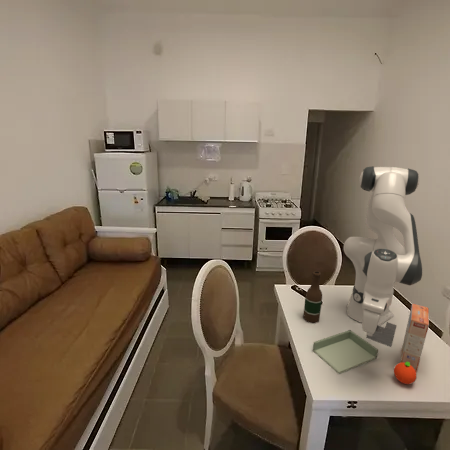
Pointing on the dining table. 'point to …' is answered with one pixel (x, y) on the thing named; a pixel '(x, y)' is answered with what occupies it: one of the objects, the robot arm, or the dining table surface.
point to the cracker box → (415, 335)
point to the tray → (345, 351)
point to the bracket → (384, 334)
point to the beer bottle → (313, 300)
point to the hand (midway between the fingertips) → (371, 331)
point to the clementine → (405, 373)
